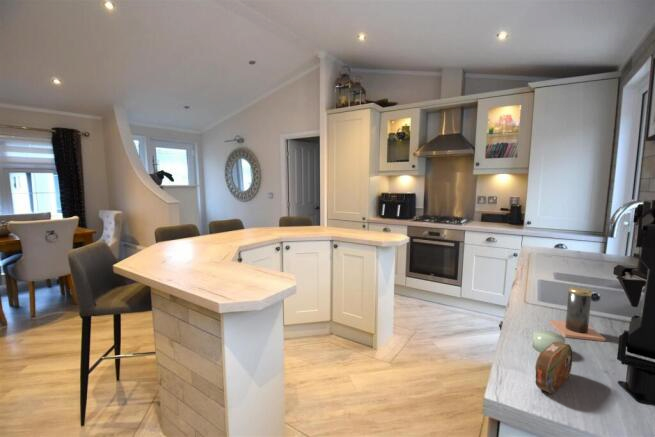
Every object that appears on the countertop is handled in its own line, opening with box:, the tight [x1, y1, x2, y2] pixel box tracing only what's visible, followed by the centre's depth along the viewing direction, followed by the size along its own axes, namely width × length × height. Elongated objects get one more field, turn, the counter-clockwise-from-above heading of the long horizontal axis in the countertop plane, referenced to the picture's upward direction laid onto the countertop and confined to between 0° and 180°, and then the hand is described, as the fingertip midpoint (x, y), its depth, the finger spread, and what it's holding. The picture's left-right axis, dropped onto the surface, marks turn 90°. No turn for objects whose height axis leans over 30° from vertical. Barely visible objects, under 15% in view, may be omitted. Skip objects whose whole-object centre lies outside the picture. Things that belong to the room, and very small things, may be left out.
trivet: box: [549, 320, 607, 342], centre depth 96 cm, size 10×10×1 cm
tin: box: [535, 342, 573, 395], centre depth 71 cm, size 15×3×8 cm, turn 126°
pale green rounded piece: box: [532, 329, 566, 354], centre depth 85 cm, size 7×7×4 cm
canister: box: [565, 286, 593, 333], centre depth 95 cm, size 5×5×12 cm
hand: (647, 313), depth 77 cm, fingers open, 9 cm apart
